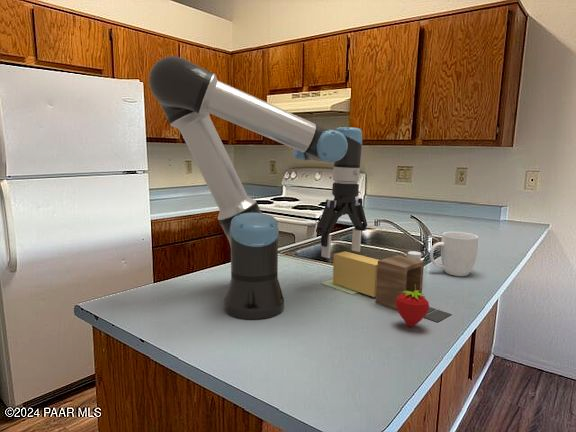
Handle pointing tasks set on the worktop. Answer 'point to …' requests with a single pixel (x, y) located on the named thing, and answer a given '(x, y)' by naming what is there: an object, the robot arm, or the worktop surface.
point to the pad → (338, 287)
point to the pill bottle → (414, 255)
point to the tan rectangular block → (355, 272)
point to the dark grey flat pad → (436, 315)
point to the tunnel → (397, 278)
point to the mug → (457, 252)
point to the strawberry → (412, 307)
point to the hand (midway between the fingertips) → (341, 254)
